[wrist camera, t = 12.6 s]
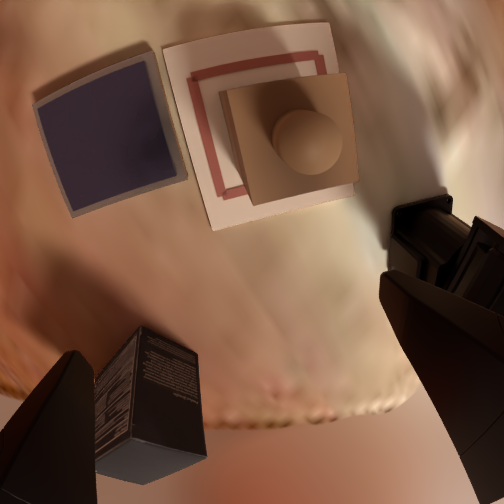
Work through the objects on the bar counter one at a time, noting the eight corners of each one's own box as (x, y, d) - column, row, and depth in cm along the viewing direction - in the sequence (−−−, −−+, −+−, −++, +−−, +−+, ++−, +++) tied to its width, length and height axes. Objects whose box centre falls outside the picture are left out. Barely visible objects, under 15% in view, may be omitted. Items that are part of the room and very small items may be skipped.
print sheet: (327, 23, 14) (329, 21, 14) (352, 194, 20) (355, 196, 20) (163, 50, 14) (162, 49, 13) (212, 229, 20) (212, 232, 20)
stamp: (301, 76, 16) (363, 72, 9) (314, 153, 18) (375, 192, 12) (218, 91, 15) (229, 90, 9) (237, 170, 18) (259, 220, 12)
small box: (146, 402, 29) (144, 488, 20) (93, 379, 26) (78, 468, 17) (202, 354, 26) (212, 461, 17) (140, 322, 23) (125, 438, 14)
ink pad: (154, 52, 14) (150, 49, 13) (188, 175, 18) (187, 181, 17) (39, 103, 14) (29, 105, 12) (77, 212, 18) (70, 221, 17)
